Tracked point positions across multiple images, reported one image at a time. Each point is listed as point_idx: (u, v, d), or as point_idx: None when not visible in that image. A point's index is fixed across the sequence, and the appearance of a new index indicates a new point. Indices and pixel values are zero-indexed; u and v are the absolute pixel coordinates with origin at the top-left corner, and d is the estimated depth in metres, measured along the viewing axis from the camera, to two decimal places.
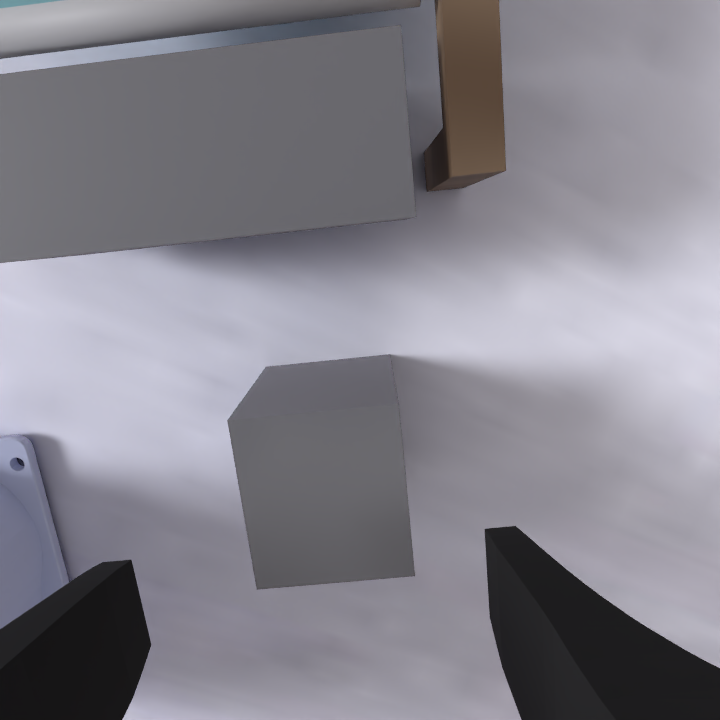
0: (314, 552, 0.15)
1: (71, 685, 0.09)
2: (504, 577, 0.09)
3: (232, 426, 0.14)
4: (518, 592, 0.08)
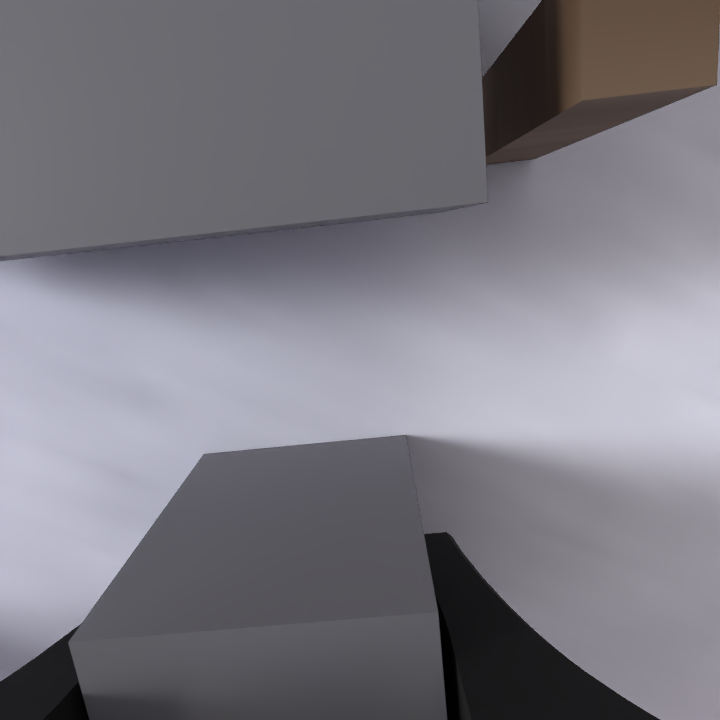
0: None
1: None
2: None
3: (78, 655, 0.06)
4: None
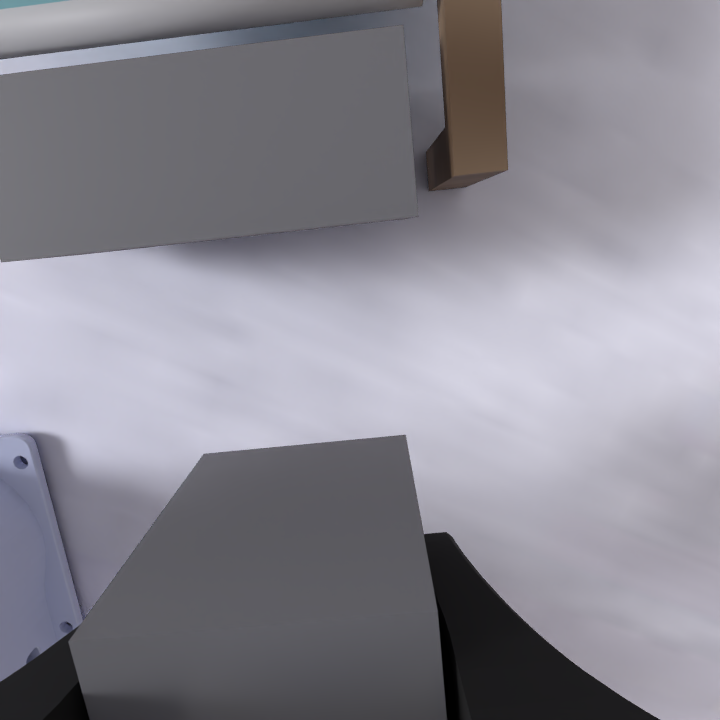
0: None
1: None
2: None
3: (79, 654, 0.06)
4: None
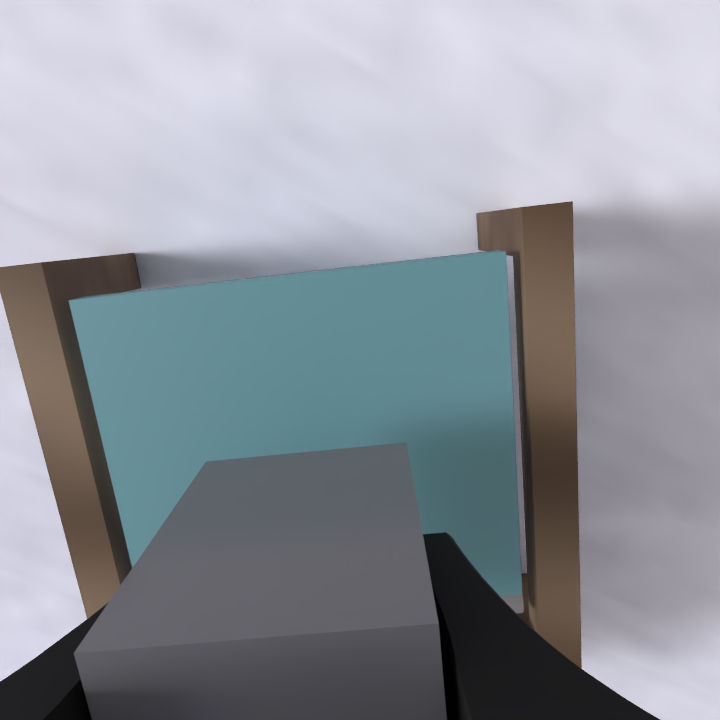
0: None
1: None
2: None
3: (84, 665, 0.07)
4: None
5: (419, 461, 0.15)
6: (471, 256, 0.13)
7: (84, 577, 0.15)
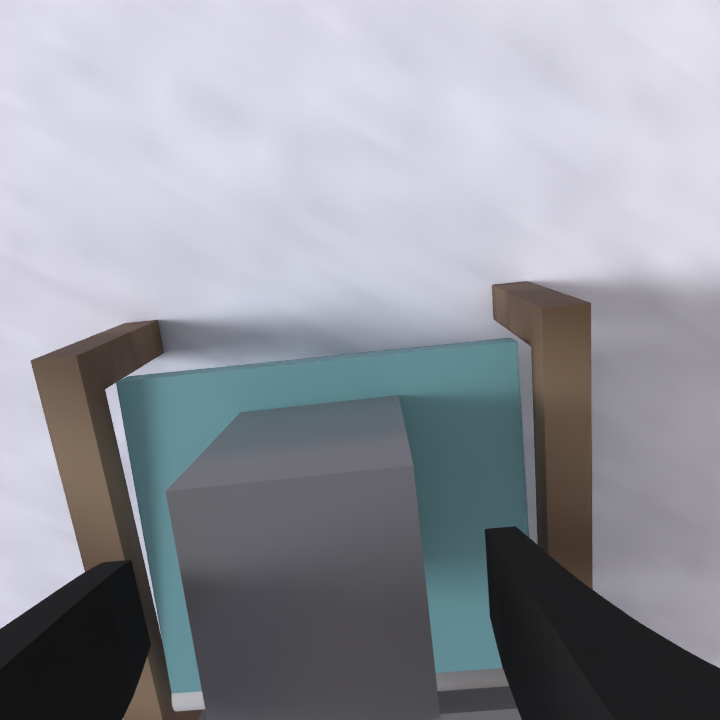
0: (293, 684, 0.10)
1: (72, 685, 0.09)
2: (504, 577, 0.09)
3: (172, 500, 0.10)
4: (518, 592, 0.08)
5: (437, 534, 0.15)
6: (485, 345, 0.15)
7: None
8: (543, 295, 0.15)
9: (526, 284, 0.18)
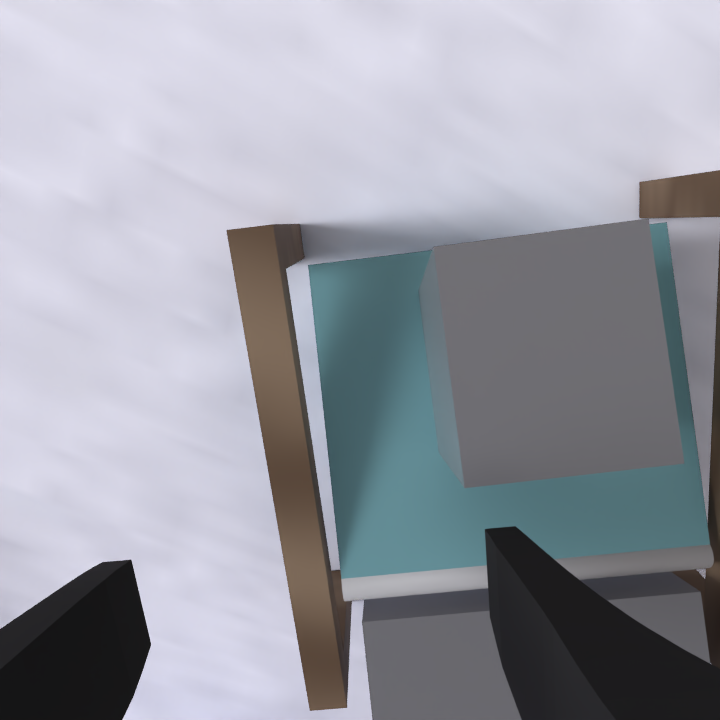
0: (544, 429, 0.11)
1: (72, 685, 0.09)
2: (504, 577, 0.09)
3: (440, 253, 0.11)
4: (518, 592, 0.08)
5: None
6: None
7: (287, 534, 0.16)
8: None
9: None
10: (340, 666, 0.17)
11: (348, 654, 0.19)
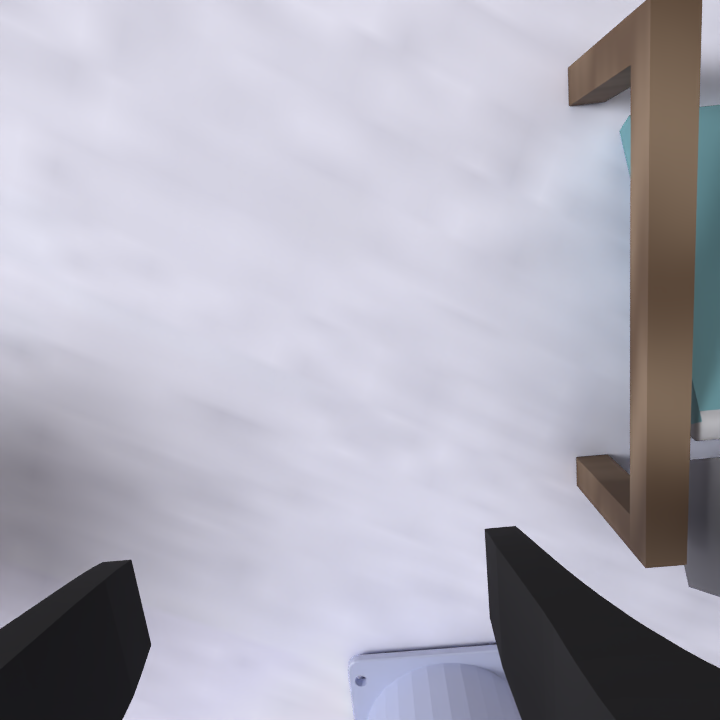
0: None
1: (72, 685, 0.09)
2: (504, 577, 0.09)
3: None
4: (518, 592, 0.08)
5: None
6: None
7: (656, 357, 0.15)
8: None
9: None
10: (686, 516, 0.16)
11: None
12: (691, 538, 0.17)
